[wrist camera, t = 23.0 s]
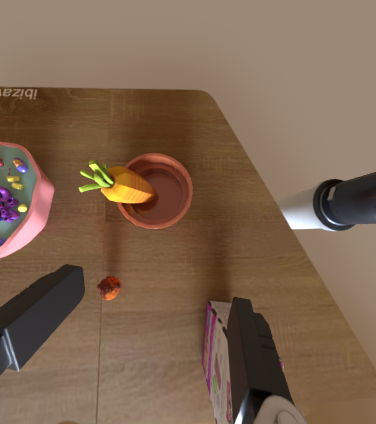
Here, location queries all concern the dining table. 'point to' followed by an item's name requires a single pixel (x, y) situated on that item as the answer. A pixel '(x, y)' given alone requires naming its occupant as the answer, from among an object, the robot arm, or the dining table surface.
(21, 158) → the cell model
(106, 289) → the meatball
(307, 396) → the dining table surface
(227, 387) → the candy bar box
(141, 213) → the mixing bowl
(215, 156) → the dining table surface
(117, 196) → the carrot
